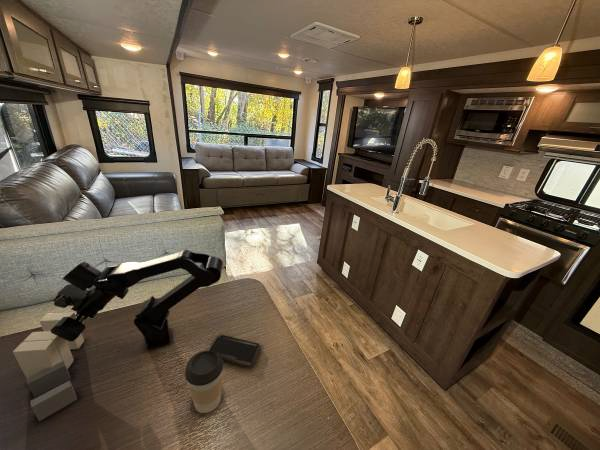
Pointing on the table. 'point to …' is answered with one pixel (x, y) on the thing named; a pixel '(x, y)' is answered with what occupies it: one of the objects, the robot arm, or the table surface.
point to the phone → (236, 350)
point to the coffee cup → (205, 380)
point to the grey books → (54, 397)
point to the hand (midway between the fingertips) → (69, 324)
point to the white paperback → (53, 319)
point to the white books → (42, 352)
